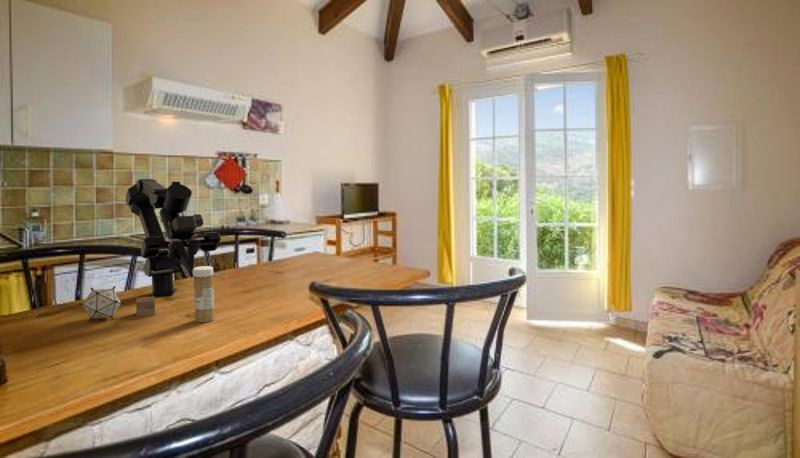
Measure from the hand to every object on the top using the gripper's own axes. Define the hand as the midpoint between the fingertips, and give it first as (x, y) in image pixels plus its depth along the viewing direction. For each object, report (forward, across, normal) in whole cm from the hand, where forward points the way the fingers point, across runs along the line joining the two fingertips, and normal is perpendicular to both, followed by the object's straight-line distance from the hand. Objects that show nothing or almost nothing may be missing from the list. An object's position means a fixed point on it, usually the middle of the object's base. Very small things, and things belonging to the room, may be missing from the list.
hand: (191, 269), depth 107 cm
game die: (+1, -18, +16) cm, 24 cm away
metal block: (+3, -9, +14) cm, 17 cm away
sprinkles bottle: (+14, 0, +3) cm, 14 cm away
